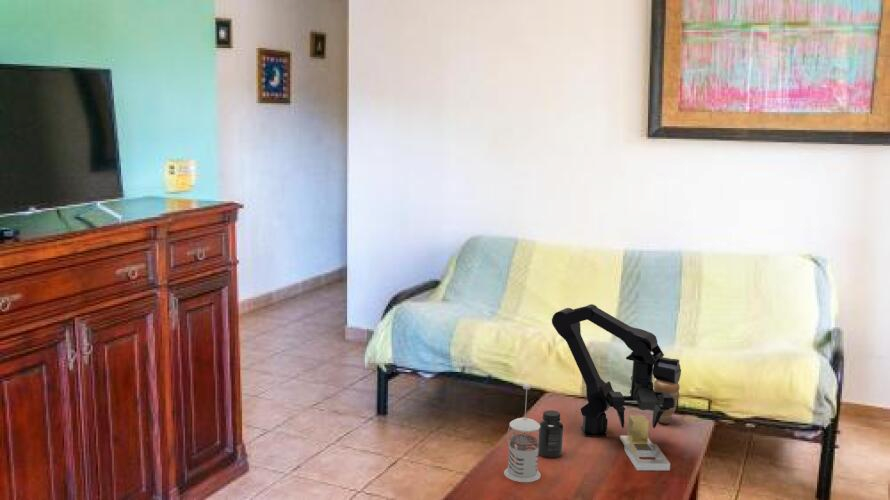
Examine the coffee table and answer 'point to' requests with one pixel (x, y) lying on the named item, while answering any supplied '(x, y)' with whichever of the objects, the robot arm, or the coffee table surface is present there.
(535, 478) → the french press
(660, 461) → the white flat frame
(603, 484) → the coffee table surface
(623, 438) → the coaster
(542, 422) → the supplement bottle
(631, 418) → the brass metal cube
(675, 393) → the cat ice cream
